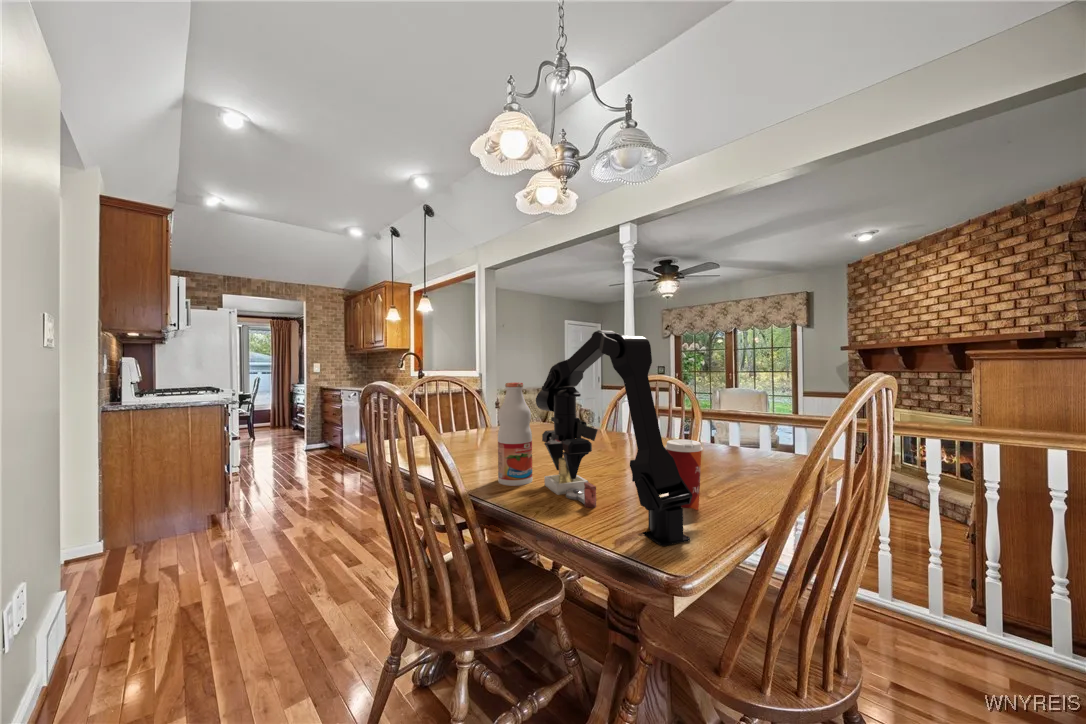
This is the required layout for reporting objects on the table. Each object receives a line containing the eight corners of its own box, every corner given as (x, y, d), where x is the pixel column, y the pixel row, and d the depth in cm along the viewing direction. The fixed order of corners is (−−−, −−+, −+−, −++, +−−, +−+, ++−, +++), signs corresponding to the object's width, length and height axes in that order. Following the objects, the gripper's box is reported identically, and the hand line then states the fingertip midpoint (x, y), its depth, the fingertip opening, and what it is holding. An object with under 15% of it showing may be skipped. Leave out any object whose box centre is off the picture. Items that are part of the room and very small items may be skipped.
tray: (588, 490, 107) (588, 481, 107) (557, 495, 104) (556, 484, 104) (574, 482, 115) (574, 472, 115) (544, 485, 112) (544, 476, 112)
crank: (562, 494, 104) (562, 475, 104) (581, 492, 106) (580, 472, 106) (583, 510, 93) (583, 488, 93) (604, 507, 95) (603, 485, 95)
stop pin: (575, 487, 108) (575, 459, 108) (562, 488, 107) (562, 461, 107) (569, 483, 112) (569, 456, 112) (556, 485, 110) (556, 458, 110)
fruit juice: (517, 478, 124) (516, 381, 124) (539, 484, 117) (538, 382, 117) (491, 484, 117) (490, 383, 117) (512, 492, 110) (511, 384, 110)
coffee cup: (709, 514, 92) (708, 445, 92) (671, 514, 93) (670, 445, 93) (696, 501, 101) (695, 438, 101) (661, 502, 101) (660, 438, 101)
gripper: (610, 416, 104) (611, 480, 104) (577, 408, 121) (578, 463, 121) (568, 418, 100) (569, 485, 100) (541, 410, 117) (542, 467, 117)
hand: (565, 474), depth 110 cm, fingers open, 9 cm apart
